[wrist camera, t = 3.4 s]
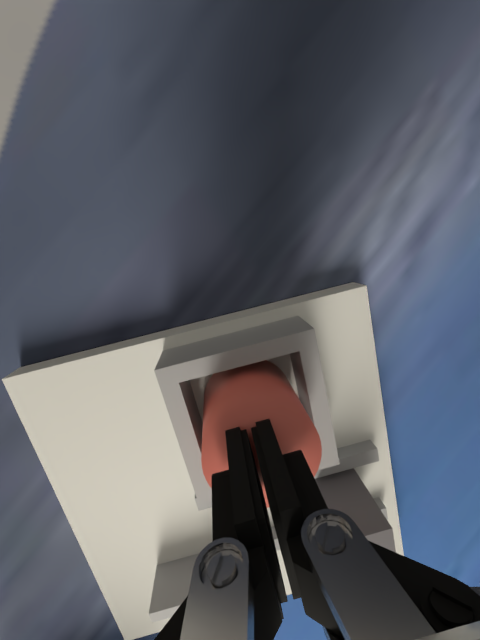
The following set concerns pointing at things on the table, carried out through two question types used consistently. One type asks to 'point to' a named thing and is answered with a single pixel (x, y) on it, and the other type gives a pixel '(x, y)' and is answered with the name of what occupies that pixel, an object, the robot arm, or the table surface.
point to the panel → (192, 435)
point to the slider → (357, 505)
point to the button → (255, 416)
